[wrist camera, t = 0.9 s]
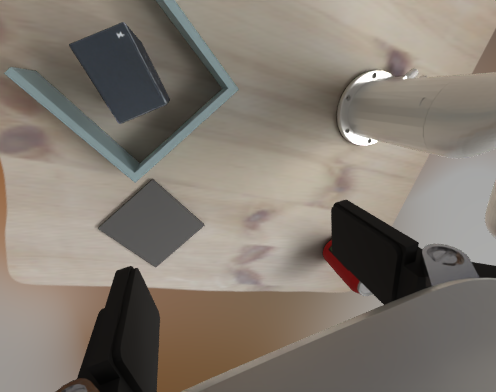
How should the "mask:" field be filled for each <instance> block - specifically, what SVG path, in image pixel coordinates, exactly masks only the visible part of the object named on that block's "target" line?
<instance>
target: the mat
mask: <svg viewBox="0 0 496 392" xmlns="http://www.w3.org/2000/svg"><path fill="white" fill-rule="evenodd" d="M203 226H204V223H202V222H201V221H200V220H199V219H198V218H197V217H196V216H194V215H193V214H192V213H191V212H190V211H189V210H188V209H186V208H185V207H184V206H183V205H182V204H181V203H180V202H179V201H177V200H176V199H175V198H174V197H173V196H172V195H171V194H169V193H168V192H167V191H166V190H165V189H164V188H163V187H161V186H160V185H159V184H158V183H157V182H156V181H155V180H154V179H152V180H151V181H150V182H149V183H148V184H146V185H145V186H144V187H143V188H142V189H141V190H140V191H139V192H138V193H136V194H135V195H134V196H133V197H132V198H131V199H130V200H129V201H127V202H126V203H125V204H124V205H123V206H122V207H121V208H120V209H119V210H117V211H116V212H115V213H114V214H113V215H112V216H111V217H110V218H108V219H107V220H106V221H105V222H104V223H103V224H102V225H101V226H100V227H99V228H98V229H99V230H101V231H102V232H104V233H105V234H107V235H108V236H110V237H111V238H113V239H114V240H116V241H117V242H119V243H120V244H122V245H123V246H125V247H126V248H128V249H129V250H131V251H132V252H134V253H135V254H137V255H138V256H140V257H141V258H143V259H144V260H146V261H147V262H148V263H150V264H151V265H153V266H154V267H157V266H158V265H159V264H160V263H161V262H163V261H164V260H165V259H166V258H167V257H168V256H170V255H171V254H172V253H173V252H174V251H175V250H177V249H178V248H179V247H180V246H181V245H182V244H184V243H185V242H186V241H187V240H188V239H189V238H190V237H192V236H193V235H194V234H195V233H196V232H197V231H199V230H200V229H201V228H202V227H203Z"/></svg>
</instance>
